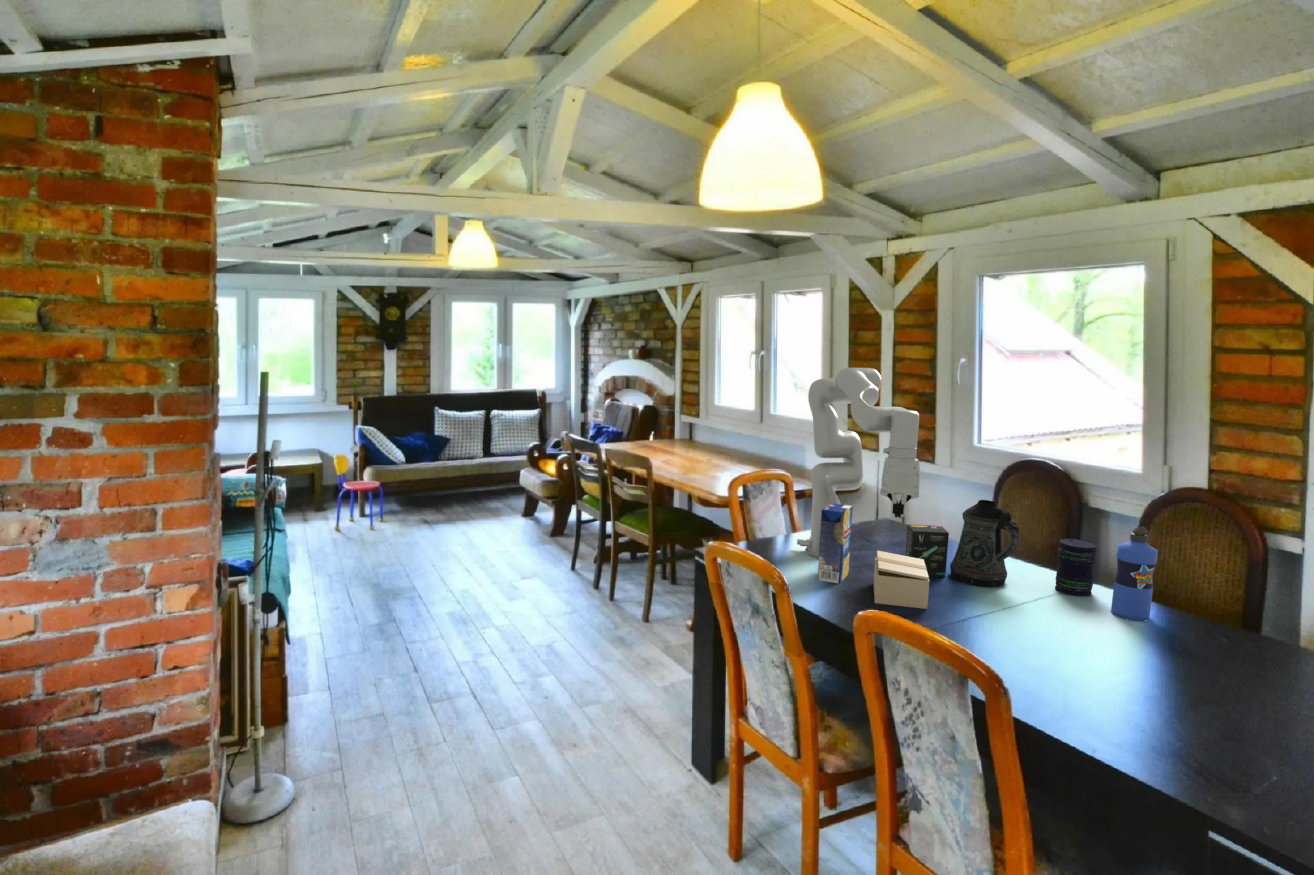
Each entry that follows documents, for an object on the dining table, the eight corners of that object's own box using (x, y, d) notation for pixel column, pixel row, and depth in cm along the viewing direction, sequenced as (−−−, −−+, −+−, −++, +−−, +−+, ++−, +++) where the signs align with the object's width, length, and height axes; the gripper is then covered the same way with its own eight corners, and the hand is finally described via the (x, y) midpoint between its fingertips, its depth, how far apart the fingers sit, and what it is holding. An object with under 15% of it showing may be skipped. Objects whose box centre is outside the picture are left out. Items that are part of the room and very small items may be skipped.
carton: (874, 603, 210) (876, 575, 209) (873, 583, 228) (875, 557, 227) (927, 609, 207) (929, 581, 206) (922, 588, 224) (924, 562, 223)
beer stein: (953, 567, 246) (960, 492, 242) (1019, 578, 236) (1026, 501, 233) (945, 581, 231) (951, 502, 228) (1014, 593, 222) (1022, 511, 218)
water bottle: (1158, 621, 202) (1169, 531, 199) (1125, 621, 202) (1136, 531, 198) (1133, 608, 212) (1144, 522, 208) (1102, 608, 211) (1112, 522, 207)
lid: (878, 570, 209) (878, 567, 209) (876, 552, 226) (877, 550, 226) (928, 580, 206) (928, 577, 206) (923, 561, 223) (923, 559, 223)
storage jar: (1099, 596, 221) (1105, 547, 219) (1070, 597, 220) (1075, 548, 218) (1075, 585, 231) (1080, 538, 229) (1047, 586, 229) (1052, 538, 227)
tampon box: (938, 568, 244) (941, 525, 242) (946, 577, 235) (949, 532, 233) (903, 567, 245) (906, 523, 243) (910, 575, 236) (913, 530, 234)
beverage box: (848, 574, 236) (852, 505, 233) (839, 583, 226) (844, 512, 223) (826, 570, 239) (831, 502, 236) (817, 579, 229) (821, 509, 226)
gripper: (875, 453, 211) (870, 517, 213) (931, 457, 207) (926, 522, 210) (874, 449, 218) (870, 511, 221) (929, 453, 214) (924, 516, 217)
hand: (897, 516), depth 215 cm, fingers closed
